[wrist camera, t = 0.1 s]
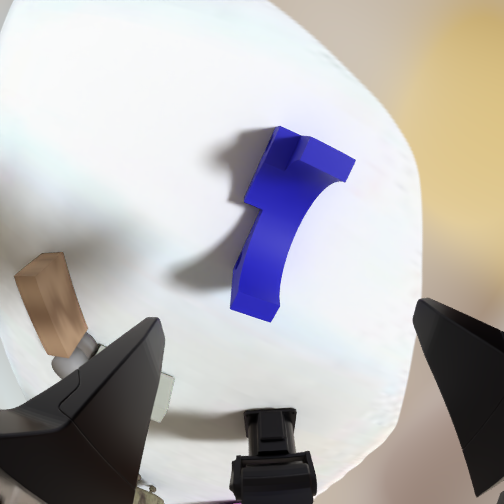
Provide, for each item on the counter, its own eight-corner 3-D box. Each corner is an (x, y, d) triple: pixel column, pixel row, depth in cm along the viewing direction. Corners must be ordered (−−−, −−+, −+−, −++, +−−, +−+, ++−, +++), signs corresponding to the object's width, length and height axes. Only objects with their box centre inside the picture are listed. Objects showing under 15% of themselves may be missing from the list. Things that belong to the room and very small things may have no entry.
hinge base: (102, 356, 29) (87, 387, 24) (77, 353, 29) (60, 381, 24) (66, 252, 24) (37, 276, 19) (39, 253, 24) (11, 276, 19)
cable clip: (275, 126, 20) (286, 125, 15) (328, 151, 21) (356, 160, 16) (216, 262, 25) (208, 301, 19) (265, 280, 25) (270, 322, 20)
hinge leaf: (68, 346, 28) (51, 373, 24) (70, 325, 27) (51, 352, 23) (166, 393, 31) (159, 424, 27) (176, 376, 30) (168, 408, 25)
